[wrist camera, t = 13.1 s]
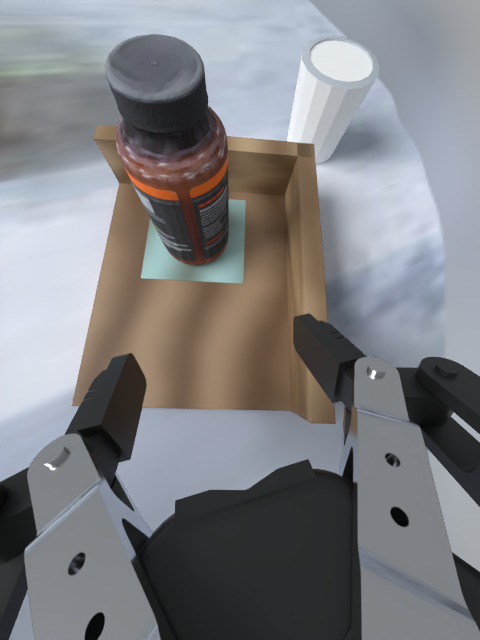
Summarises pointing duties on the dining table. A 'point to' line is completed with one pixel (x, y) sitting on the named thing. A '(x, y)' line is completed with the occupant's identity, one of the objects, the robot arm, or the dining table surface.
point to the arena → (217, 291)
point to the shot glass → (330, 91)
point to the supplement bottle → (172, 144)
